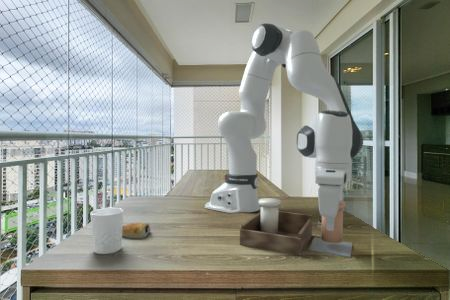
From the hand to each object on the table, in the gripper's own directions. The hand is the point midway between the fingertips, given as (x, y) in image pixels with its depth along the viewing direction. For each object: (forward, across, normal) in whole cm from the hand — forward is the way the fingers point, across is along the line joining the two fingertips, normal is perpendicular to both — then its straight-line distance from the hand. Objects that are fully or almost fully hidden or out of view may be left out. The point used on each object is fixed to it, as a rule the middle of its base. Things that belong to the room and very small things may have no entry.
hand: (331, 225), depth 77 cm
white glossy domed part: (+6, -2, -18) cm, 19 cm away
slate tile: (+6, 0, 0) cm, 6 cm away
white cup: (+6, +26, -52) cm, 59 cm away
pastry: (+6, +14, -54) cm, 56 cm away
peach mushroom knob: (+4, 0, 0) cm, 4 cm away
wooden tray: (+6, +1, -14) cm, 15 cm away
